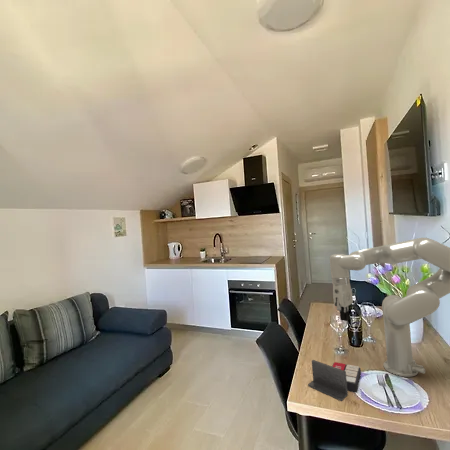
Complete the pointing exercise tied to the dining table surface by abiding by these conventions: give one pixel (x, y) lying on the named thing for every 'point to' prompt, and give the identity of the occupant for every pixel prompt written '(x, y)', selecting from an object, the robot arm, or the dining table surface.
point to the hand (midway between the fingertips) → (344, 320)
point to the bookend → (329, 380)
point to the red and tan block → (350, 375)
